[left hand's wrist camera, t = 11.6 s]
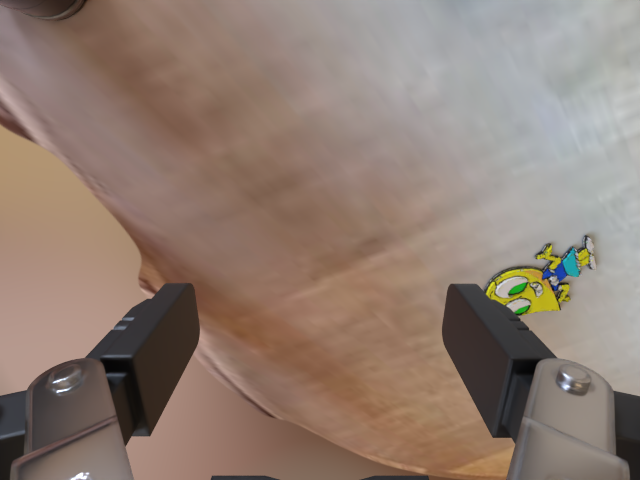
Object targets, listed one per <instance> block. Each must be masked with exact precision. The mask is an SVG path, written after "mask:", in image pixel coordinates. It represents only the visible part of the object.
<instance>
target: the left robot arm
mask: <svg viewBox="0 0 640 480" xmlns="http://www.w3.org/2000/svg"><path fill="white" fill-rule="evenodd" d="M84 1H85V0H0V5H2V6H5V7H8V8H11V9H14V10H17V11H20V12H22V13H24V14H26V15H29V16H32V17H35V18H38V19H42V20H48V21H56V20H62V19H65V18H67V17H69V16H71V15H73V14H74V13H75V12H76V11H77V10H78V9H79V8H80V7H81V6H82V4H83V3H84ZM199 334H200V326H199V318H198V311H197V304H196V297H195V290H194V287H193V285H192V284H191V283H166V284H164V285H163V287H162V288H161V289H160V290H159V291H158V292H157V293H156V294H155V296H154V297H153V298H152V299H146V300H145V301H143V302H141V303H140V304H138V305H136V306H135V307H133V308H132V309H131V310H130V311H129V312H128V313H127V314H126V315H125V316H124V317H123V318H122V321H119V322H118V323H117V324H116V325H115V327H114V329H113V330H111V331H110V332H109V333H108V334H107V335H106V336H105V337H104V338H103V339H102V340H101V341H100V342H99V343H98V345H97V346H96V347H95V348H94V349H93V350H92V351H91V352H90V353H89V354H88V355H87V356H86V357H85V358H81V359H75V360H71V361H67V362H64V363H62V364H59V365H57V366H55V367H52V368H51V369H49V370H47V371H45V372H44V373H42V374H41V375H40V376H38V377H37V378H36V379H35V380H34V381H33V382H32V383H31V384H30V386H29V387H28V389H27V390H26V391H21V392H16V393H11V394H7V395H2V396H0V480H134V478H133V475H132V471H131V467H130V463H129V459H128V456H127V452H126V448H125V447H126V445H127V443H128V441H129V440H130V438H131V436H150V435H151V433H152V431H153V429H154V428H155V426H156V424H157V422H158V420H159V418H160V416H161V414H162V412H163V410H164V408H165V406H166V405H167V402H168V401H169V399H170V397H171V395H172V393H173V391H174V389H175V387H176V385H177V383H178V381H179V380H180V378H181V376H182V374H183V372H184V370H185V368H186V366H187V364H188V362H189V360H190V358H191V356H192V355H193V353H194V351H195V349H196V347H197V344H198V341H199ZM442 337H443V342H444V345H445V348H446V350H447V352H448V353H449V355H450V357H451V359H452V361H453V363H454V365H455V367H456V369H457V371H458V372H459V374H460V376H461V378H462V380H463V382H464V384H465V386H466V388H467V390H468V391H469V393H470V395H471V397H472V399H473V401H474V403H475V405H476V407H477V409H478V410H479V412H480V414H481V416H482V418H483V420H484V422H485V424H486V426H487V428H488V429H489V431H490V433H491V435H492V437H493V438H512V439H513V441H514V443H515V448H514V452H513V456H512V459H511V463H510V467H509V471H508V474H507V478H506V480H640V396H635V395H631V394H626V393H621V392H617V391H613V389H612V387H611V386H610V384H609V383H608V382H607V381H606V380H605V379H604V378H603V377H602V376H600V375H599V374H598V373H596V372H595V371H593V370H591V369H589V368H588V367H586V366H583V365H581V364H579V363H576V362H573V361H569V360H565V359H559V358H557V357H556V356H555V355H554V354H553V353H552V352H551V351H550V350H549V349H548V348H547V347H546V346H545V344H544V343H543V342H542V341H541V340H540V339H539V338H538V337H537V336H536V335H535V334H534V333H533V332H532V331H529V328H528V327H527V326H526V325H525V324H524V322H523V321H520V318H519V317H518V316H517V315H516V314H515V313H514V312H513V311H512V310H511V309H510V308H508V307H507V306H505V305H503V304H502V303H500V302H498V301H496V300H491V299H490V298H489V297H488V296H487V295H486V294H485V292H484V291H483V290H482V289H481V288H480V287H479V286H478V285H477V284H450V286H449V287H448V291H447V297H446V304H445V311H444V318H443V325H442ZM211 480H279V479H275V478H271V477H268V476H212V478H211ZM361 480H429V478H428V476H372V477H369V478H365V479H361Z"/></svg>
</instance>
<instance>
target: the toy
mask: <svg viewBox="0 0 640 480" xmlns="http://www.w3.org/2000/svg"><path fill="white" fill-rule="evenodd" d="M583 244H584V248H582V249H580V250H579V251H578V252H577V250H576V249H575V248H574V247H571V248H570V250H569V251H568V252H567V253H566V255H565V256H564V258H563V259H562V258H560V257H559V256H554V255H551V252H552V249H551V248H552V246H551V244H547V245H546V246H545V247H544V249H543V251H542V252H541V253H538V254H537V255H536V256H535V258H536V259H542V258H543V259H546V260H550V261H551V262H550V263H549V264H548V265H547V266H546V267H545V269H544V270H543V271H542V270H541V269H538V268H535V267H516V268H511V269H508V270H505V271H503V272H501V273H499V274H498V275H496V276H495V277H494V278H493V279H492V280H490V282H489V283H488V284H487V286H486V288H485V290H484V292H485V294H486V295H487V296H488V297H489V298H490V299H491V300H496V301H498V302H500V303H502V304H503V305H505V306H507V307H508V308H510V309H511V310H512V311H513V312H514V313H516V315H517V316H518V317H519V316H520V315H526V314H530V313H534V312H540V311H556V310H557V311H560V310H561V308H560V305H559V304H558V302H561V301H566V302H568V300H571V299H570V297H569V296H568V295H567V293H568V290H569V288H570V287H569V284H568V283H561V284H559V282H560V281H561V280H563V279H564V278H565V277H566V276H567V275H570V276H573V277H578V276H579V275H582V274H581V273H580V272H581V270H580V269H581V268H580V267H579V266H584V265H586V264H587V265H588V267H589V269H592V270H596V264H595V259H594V256H593V255H592V254H593V247H594V246H593V244H592V240H591V239H590V238H589V237H588V236H586V235H585V236H584V239H583ZM582 253H583V254H582ZM572 254H573V255H572ZM580 255H581V256H580ZM587 255H588V256H587ZM550 257H551V258H550ZM558 259H559V260H558ZM553 260H554V261H553ZM553 265H554V266H553ZM521 271H522V272H521ZM526 274H527V275H526ZM550 274H551V275H550ZM549 275H550V276H549ZM525 276H526V277H525ZM537 277H538V279H537ZM563 277H564V278H563ZM516 278H518V279H516ZM554 278H555V279H554ZM522 279H523V280H522ZM509 280H510V281H509ZM542 281H543V283H542ZM504 283H505V284H504ZM493 285H494V286H493ZM545 285H547V286H545ZM524 286H525V287H524ZM550 286H551V287H550ZM566 286H567V287H566ZM500 287H501V288H500ZM522 288H523V289H522ZM556 288H557V289H556ZM490 289H491V290H490ZM499 289H500V290H499ZM566 289H567V290H566ZM520 290H521V291H520ZM547 290H548V291H547ZM557 290H561V291H560V292H559V294H558V296H557V297H556V295H555V293H554V291H557ZM490 291H492V292H490ZM497 293H498V294H497ZM540 296H541V297H540ZM492 297H493V298H492ZM564 298H565V299H564ZM515 302H516V303H515ZM553 309H554V310H553Z"/></svg>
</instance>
